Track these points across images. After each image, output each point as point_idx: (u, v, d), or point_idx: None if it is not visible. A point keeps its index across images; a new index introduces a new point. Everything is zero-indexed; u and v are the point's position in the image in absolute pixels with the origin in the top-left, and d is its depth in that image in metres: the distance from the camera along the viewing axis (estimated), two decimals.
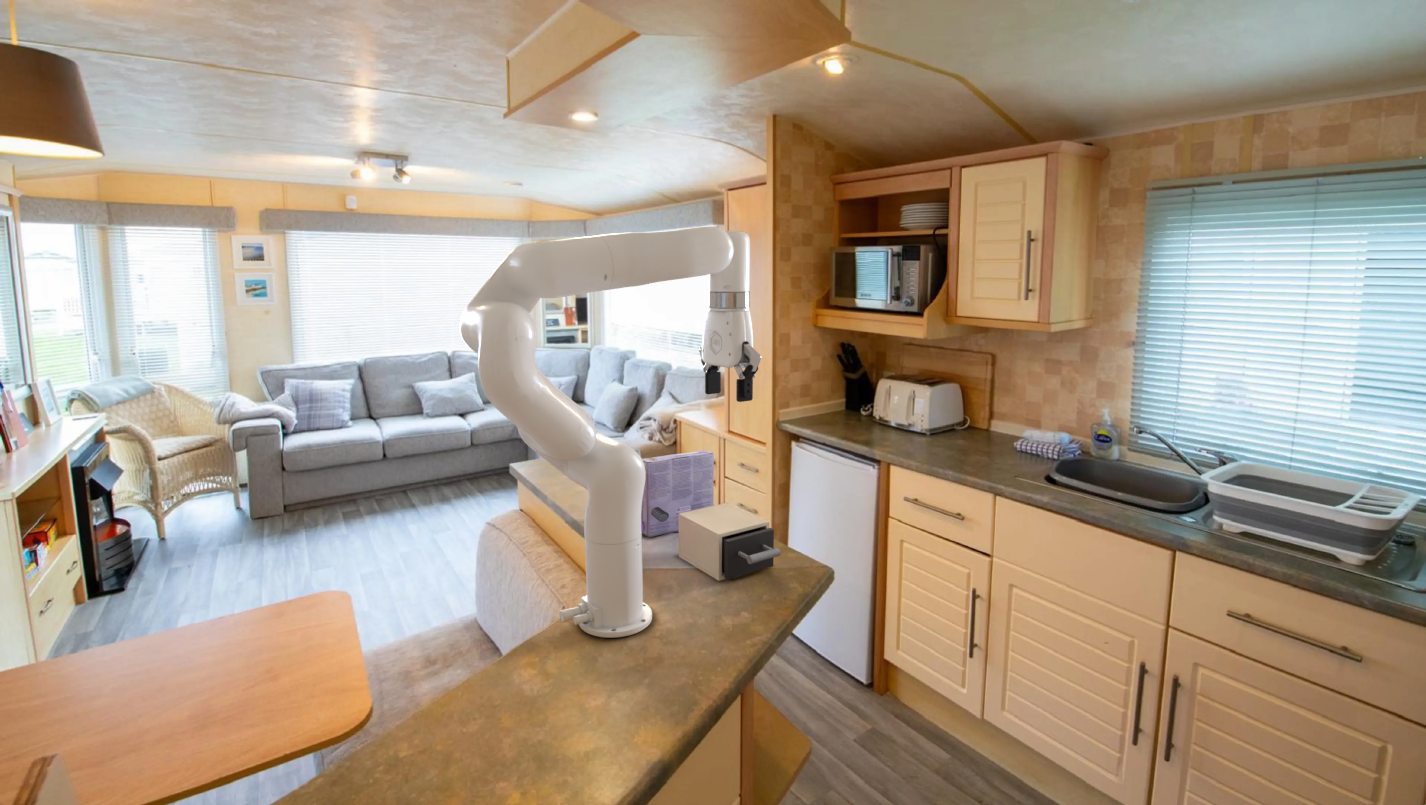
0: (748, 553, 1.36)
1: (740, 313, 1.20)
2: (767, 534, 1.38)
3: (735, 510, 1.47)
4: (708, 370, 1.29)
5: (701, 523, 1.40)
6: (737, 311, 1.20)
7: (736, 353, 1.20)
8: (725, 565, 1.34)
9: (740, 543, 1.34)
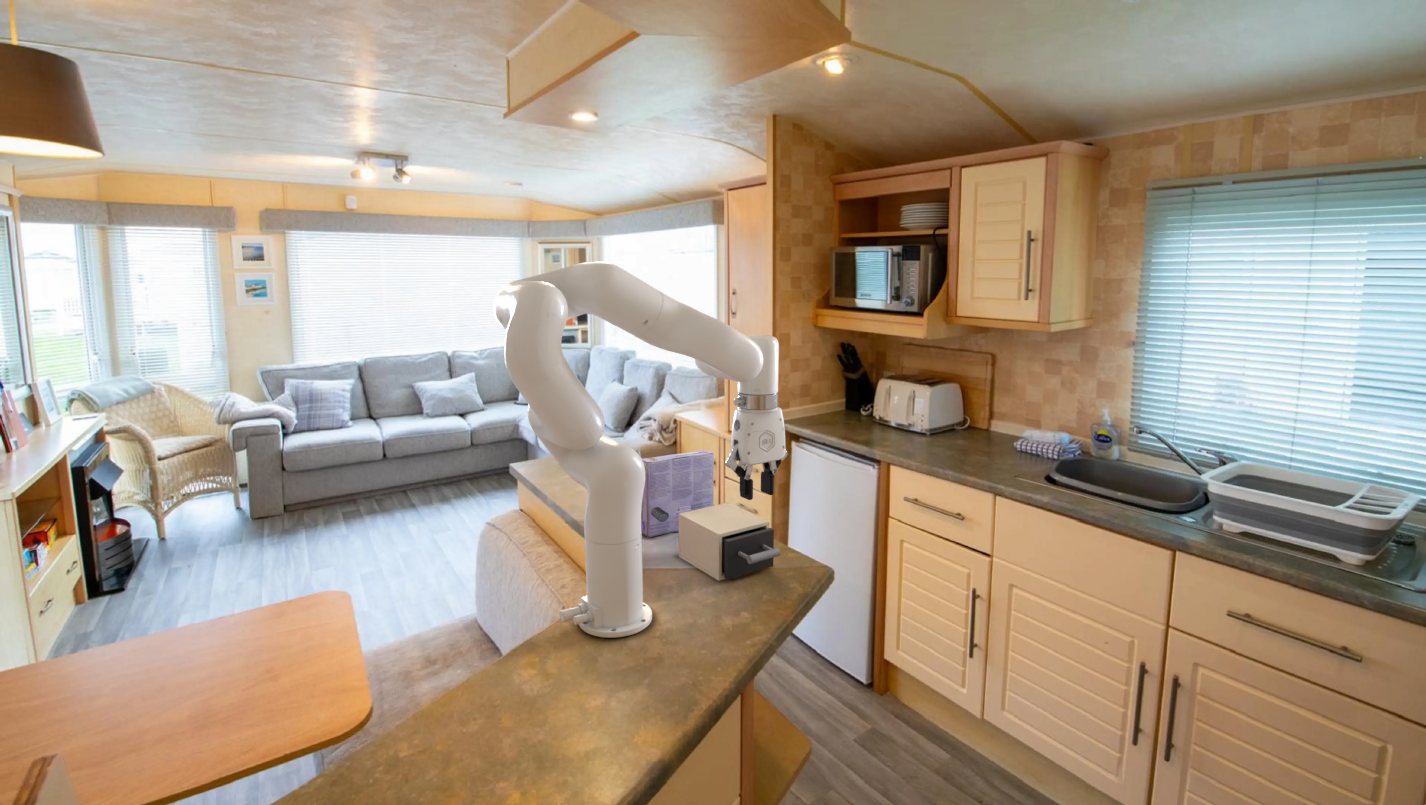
0: (748, 553, 1.36)
1: None
2: (767, 534, 1.38)
3: (735, 510, 1.47)
4: None
5: (701, 523, 1.40)
6: (777, 407, 1.31)
7: None
8: (725, 565, 1.34)
9: (740, 543, 1.34)
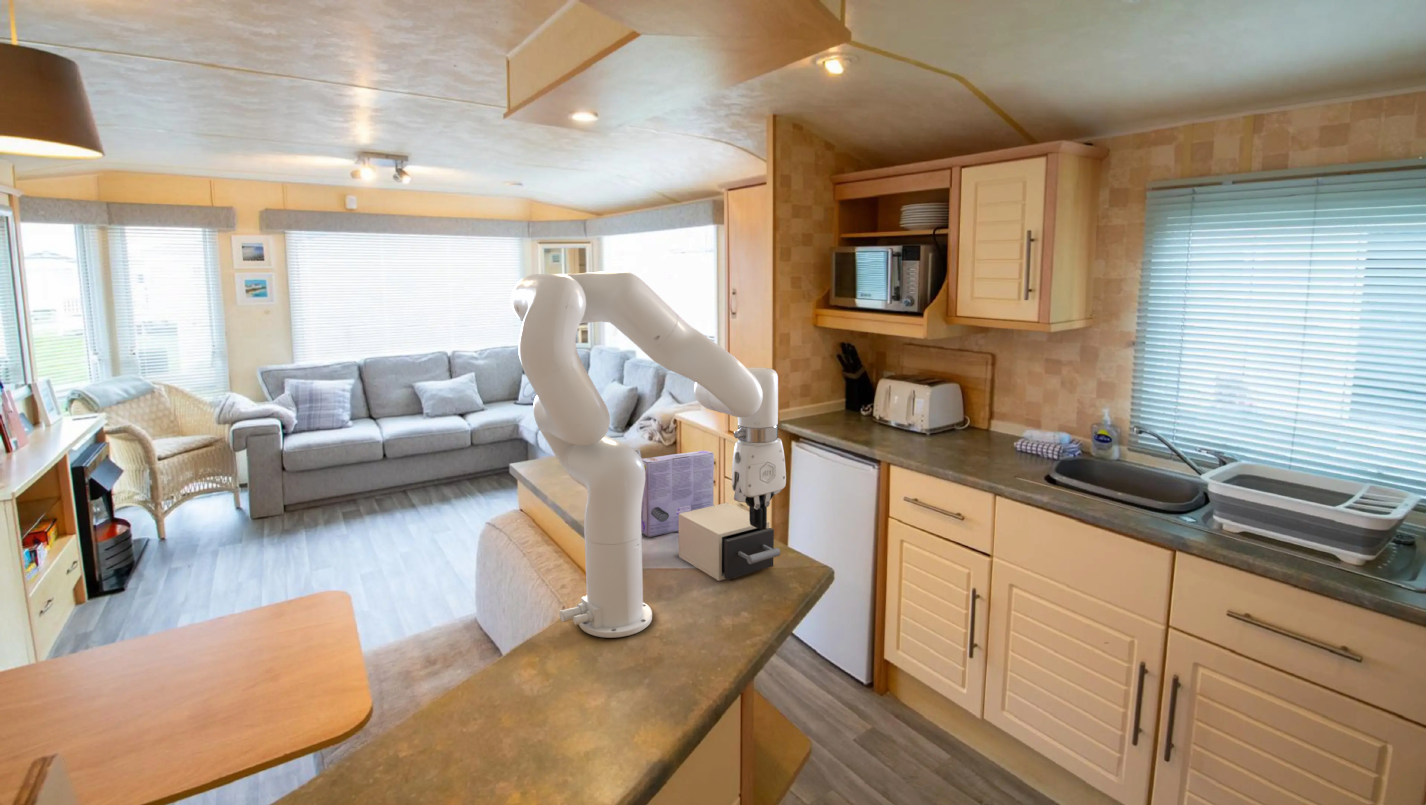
0: (748, 553, 1.36)
1: None
2: (767, 534, 1.38)
3: (735, 510, 1.47)
4: None
5: (701, 523, 1.40)
6: (777, 438, 1.33)
7: None
8: (725, 565, 1.34)
9: (740, 543, 1.34)
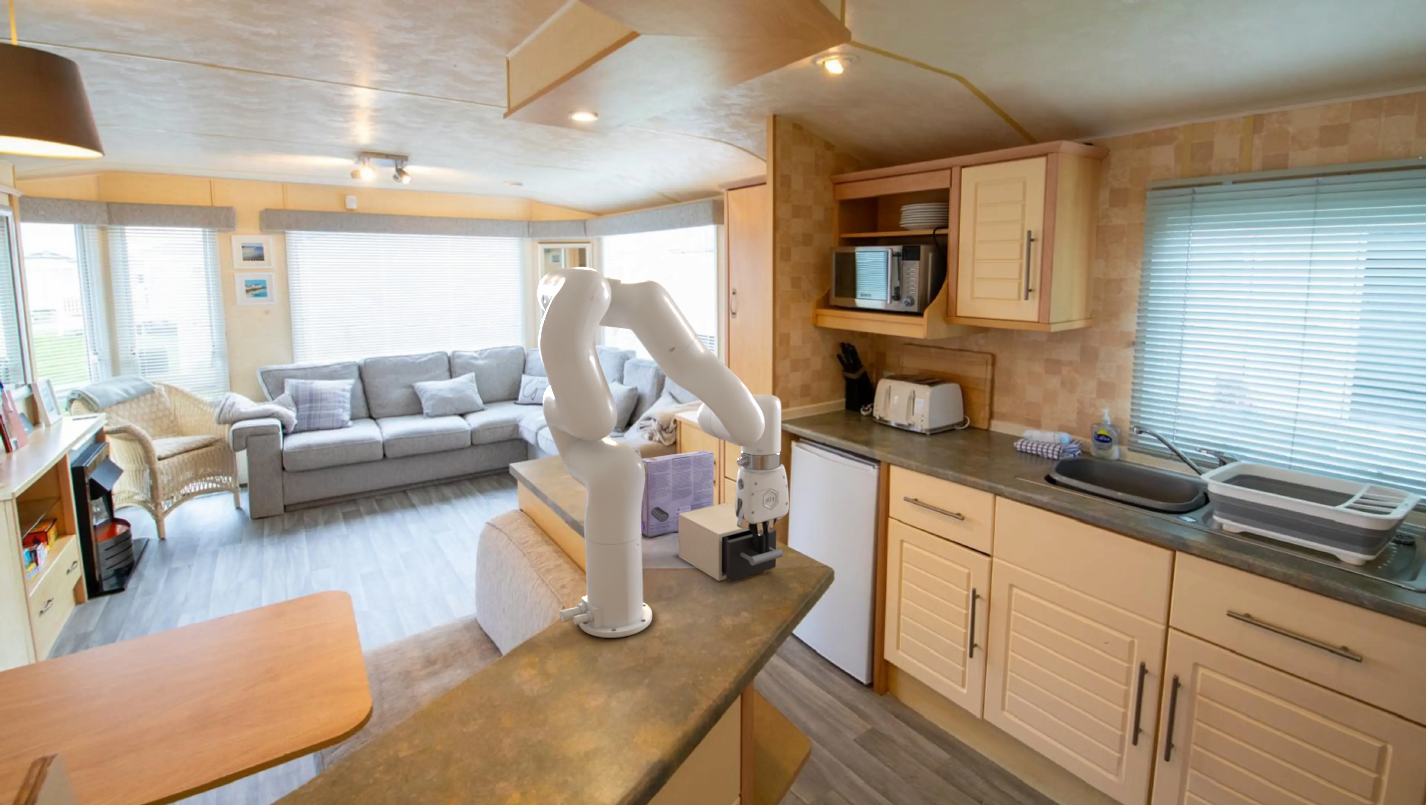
0: (750, 554, 1.35)
1: (781, 465, 1.34)
2: (770, 535, 1.37)
3: None
4: None
5: (701, 523, 1.40)
6: (780, 464, 1.33)
7: None
8: (727, 566, 1.33)
9: (742, 544, 1.34)
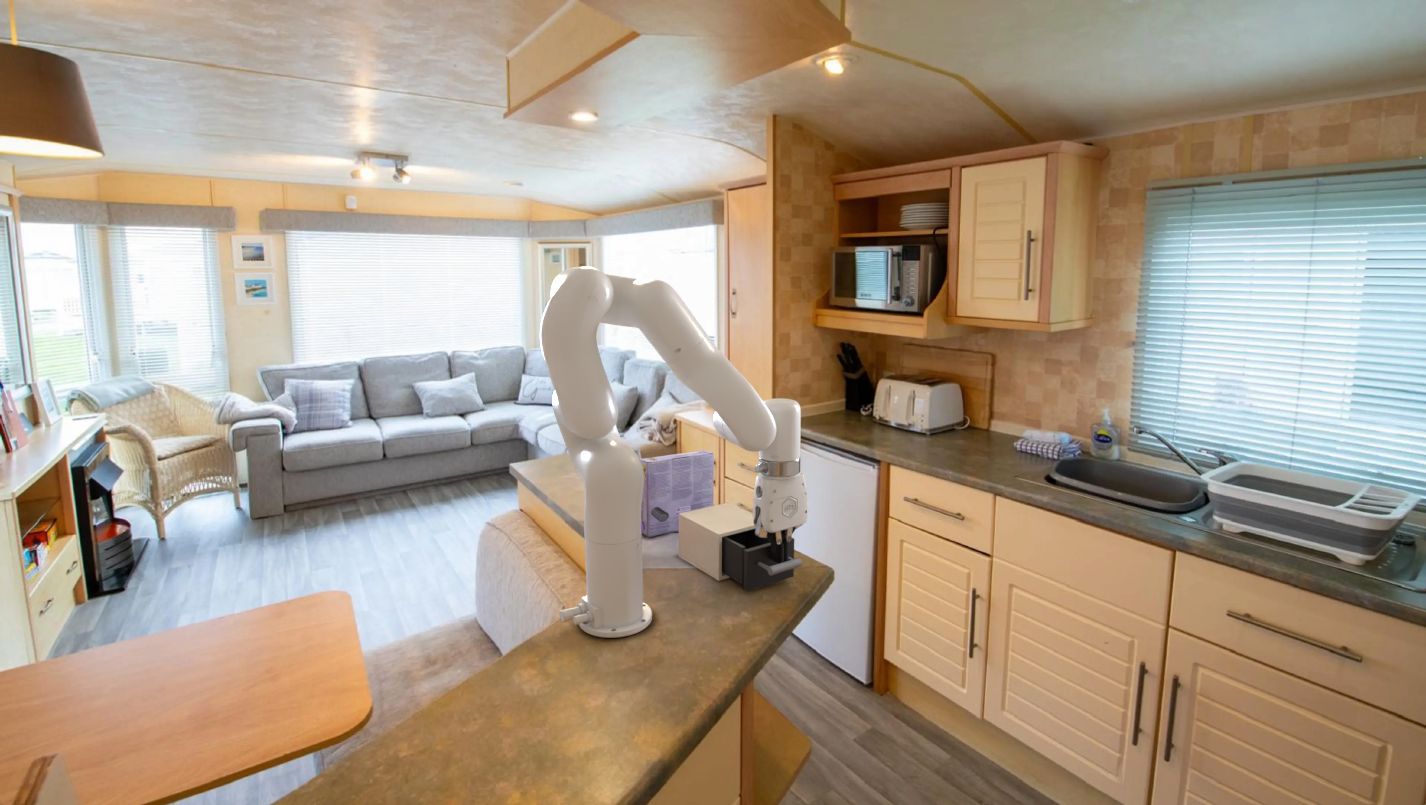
0: (768, 563, 1.31)
1: (800, 472, 1.29)
2: (788, 543, 1.33)
3: (735, 510, 1.47)
4: None
5: (701, 523, 1.40)
6: (799, 471, 1.29)
7: None
8: (744, 576, 1.29)
9: (759, 553, 1.29)
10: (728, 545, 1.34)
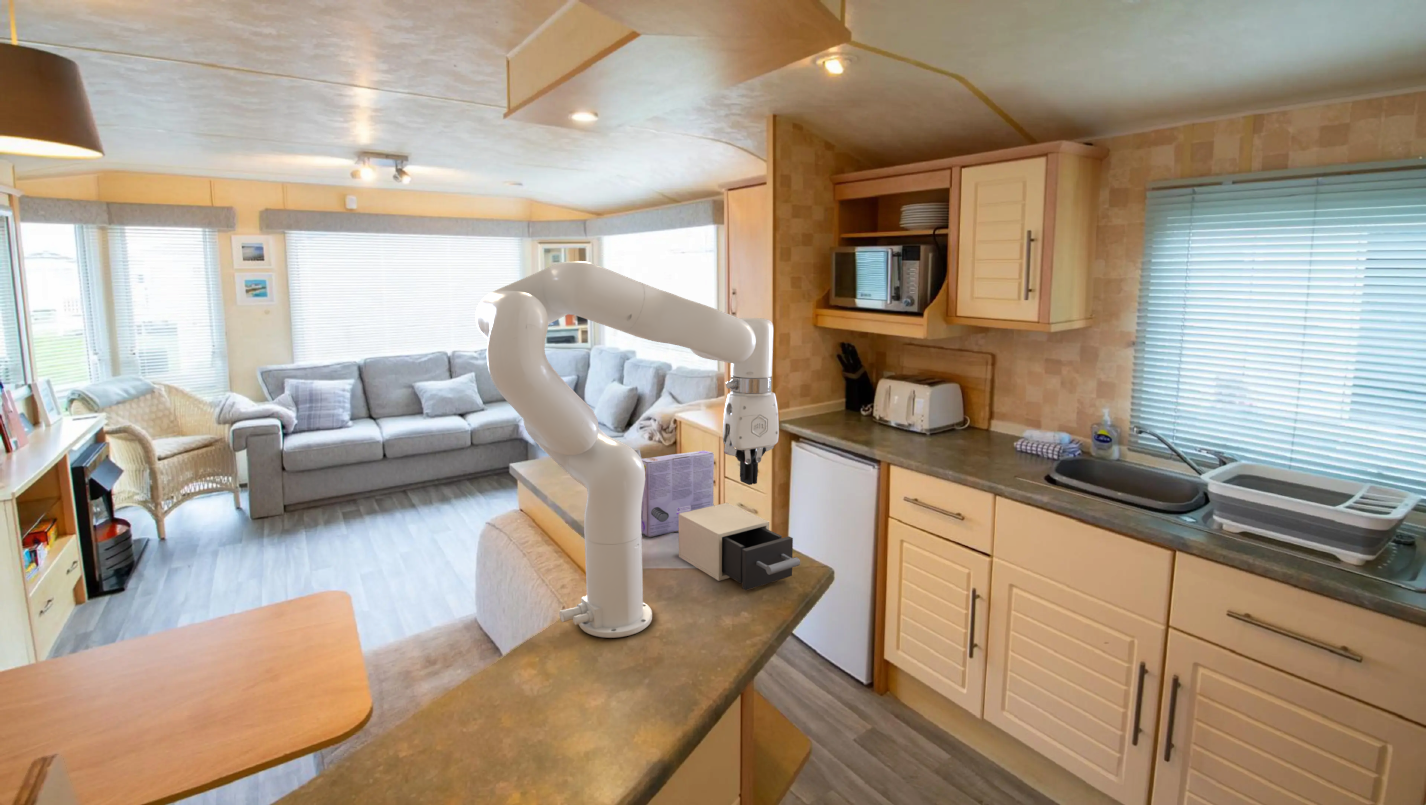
0: (766, 562, 1.31)
1: None
2: (786, 543, 1.33)
3: (735, 510, 1.47)
4: None
5: (701, 523, 1.40)
6: (771, 392, 1.29)
7: None
8: (743, 575, 1.29)
9: (758, 552, 1.30)
10: (727, 544, 1.34)
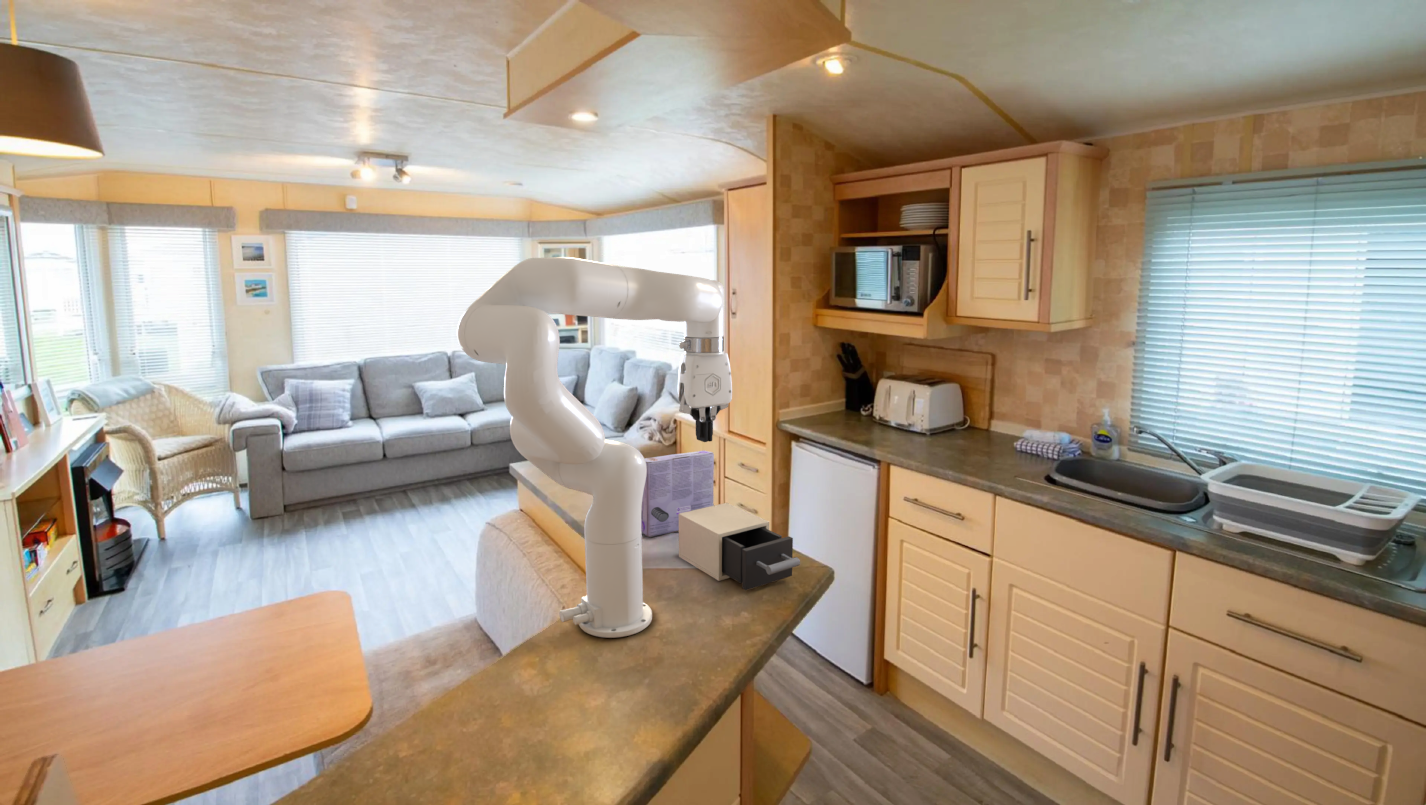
0: (766, 562, 1.31)
1: None
2: (786, 543, 1.33)
3: (735, 510, 1.47)
4: None
5: (701, 523, 1.40)
6: (724, 352, 1.33)
7: None
8: (743, 575, 1.29)
9: (758, 552, 1.30)
10: (727, 544, 1.34)
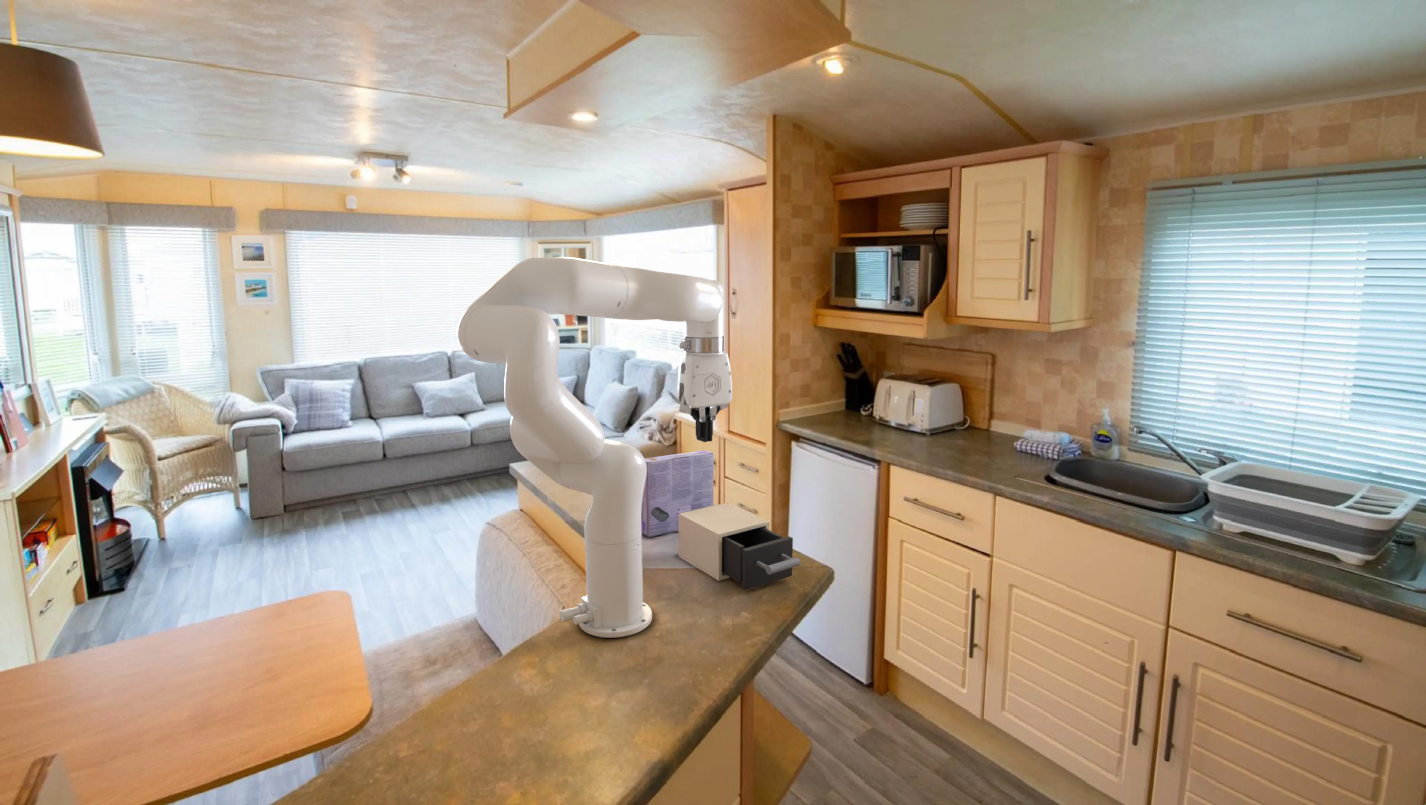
0: (766, 562, 1.31)
1: None
2: (786, 543, 1.33)
3: (735, 510, 1.47)
4: None
5: (701, 523, 1.40)
6: (724, 352, 1.33)
7: None
8: (743, 575, 1.29)
9: (758, 552, 1.30)
10: (727, 544, 1.34)
